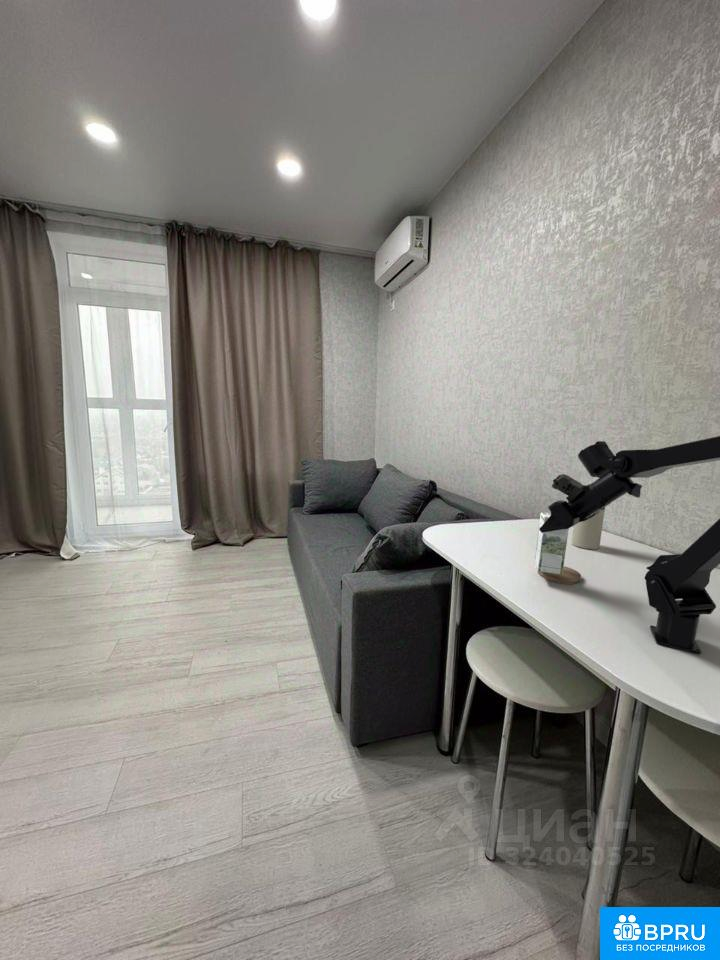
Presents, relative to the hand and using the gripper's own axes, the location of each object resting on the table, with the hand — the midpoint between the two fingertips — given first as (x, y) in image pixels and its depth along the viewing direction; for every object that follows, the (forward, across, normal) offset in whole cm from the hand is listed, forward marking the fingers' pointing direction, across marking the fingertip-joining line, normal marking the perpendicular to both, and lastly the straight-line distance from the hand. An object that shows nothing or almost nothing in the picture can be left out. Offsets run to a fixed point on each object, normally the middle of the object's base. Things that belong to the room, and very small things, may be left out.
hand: (547, 528), depth 96 cm
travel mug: (+11, -38, +8) cm, 41 cm away
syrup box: (+7, 0, +9) cm, 11 cm away
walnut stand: (+8, -5, +11) cm, 15 cm away
